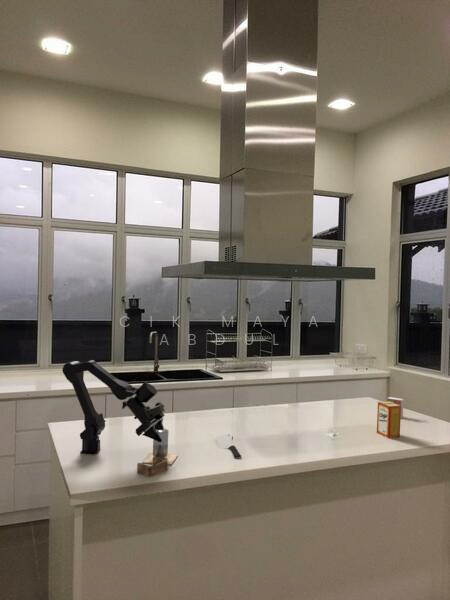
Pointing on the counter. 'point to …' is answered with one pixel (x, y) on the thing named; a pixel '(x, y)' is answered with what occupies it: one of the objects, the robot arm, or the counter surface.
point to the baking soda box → (388, 419)
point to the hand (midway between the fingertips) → (163, 439)
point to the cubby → (152, 467)
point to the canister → (161, 444)
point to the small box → (398, 402)
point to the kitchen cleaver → (228, 444)
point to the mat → (169, 458)
